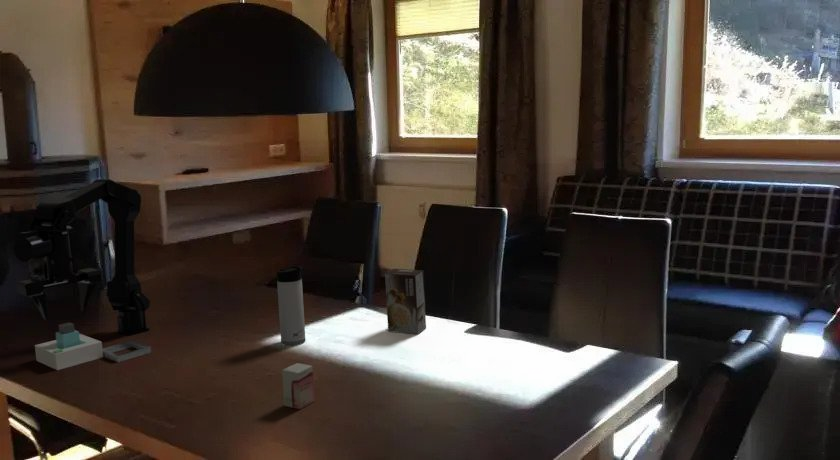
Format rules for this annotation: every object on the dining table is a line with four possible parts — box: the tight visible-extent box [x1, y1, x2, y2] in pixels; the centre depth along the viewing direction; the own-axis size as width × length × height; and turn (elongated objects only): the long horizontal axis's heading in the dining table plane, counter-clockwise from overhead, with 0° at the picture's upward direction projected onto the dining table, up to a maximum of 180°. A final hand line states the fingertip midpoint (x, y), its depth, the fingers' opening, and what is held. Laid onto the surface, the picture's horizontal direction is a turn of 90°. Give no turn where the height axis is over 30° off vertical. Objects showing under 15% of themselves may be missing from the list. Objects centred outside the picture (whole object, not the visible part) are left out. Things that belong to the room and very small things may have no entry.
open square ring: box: [102, 339, 152, 363], centre depth 196 cm, size 9×9×2 cm
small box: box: [281, 362, 315, 410], centre depth 160 cm, size 5×4×8 cm
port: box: [34, 333, 104, 371], centre depth 193 cm, size 12×12×4 cm
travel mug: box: [276, 265, 306, 347], centre depth 199 cm, size 6×7×20 cm
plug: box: [55, 322, 80, 349], centre depth 193 cm, size 4×4×9 cm
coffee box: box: [384, 268, 427, 335], centre depth 207 cm, size 9×6×16 cm
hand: (64, 315), depth 191 cm, fingers open, 9 cm apart
